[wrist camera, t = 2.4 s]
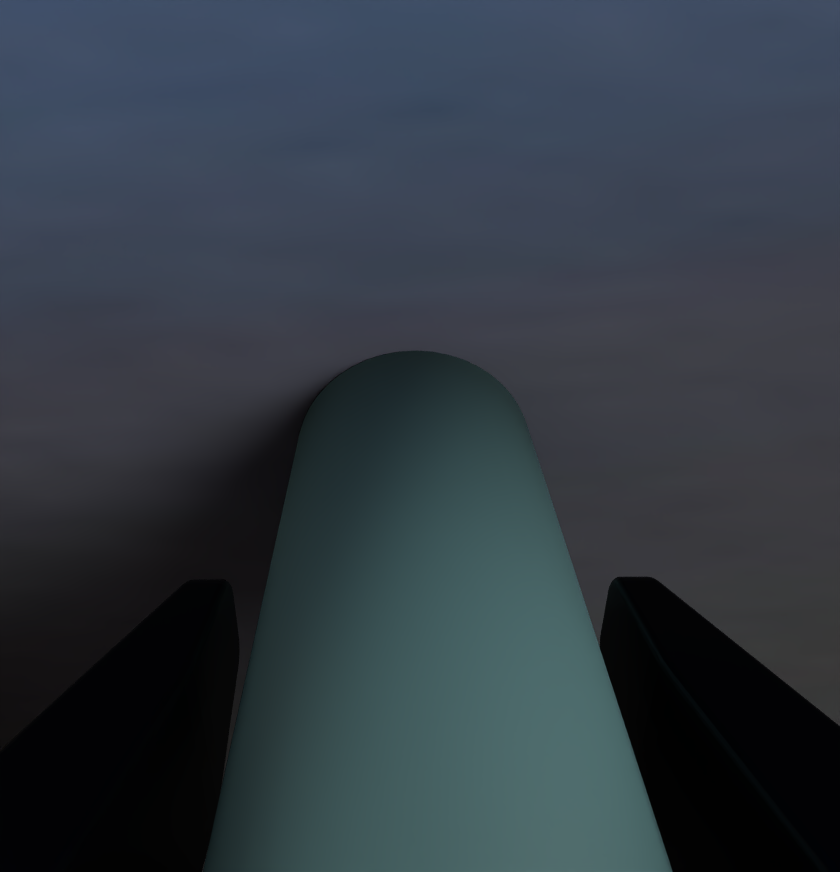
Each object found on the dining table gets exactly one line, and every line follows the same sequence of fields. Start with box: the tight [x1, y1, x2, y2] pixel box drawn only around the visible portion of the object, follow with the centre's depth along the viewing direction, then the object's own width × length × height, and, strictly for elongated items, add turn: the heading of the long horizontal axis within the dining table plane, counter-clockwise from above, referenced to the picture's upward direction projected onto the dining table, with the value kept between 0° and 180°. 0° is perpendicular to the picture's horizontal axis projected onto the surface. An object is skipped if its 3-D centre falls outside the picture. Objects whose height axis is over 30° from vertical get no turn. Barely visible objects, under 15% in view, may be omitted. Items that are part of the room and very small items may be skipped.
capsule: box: [203, 351, 673, 872], centre depth 7 cm, size 3×3×9 cm
